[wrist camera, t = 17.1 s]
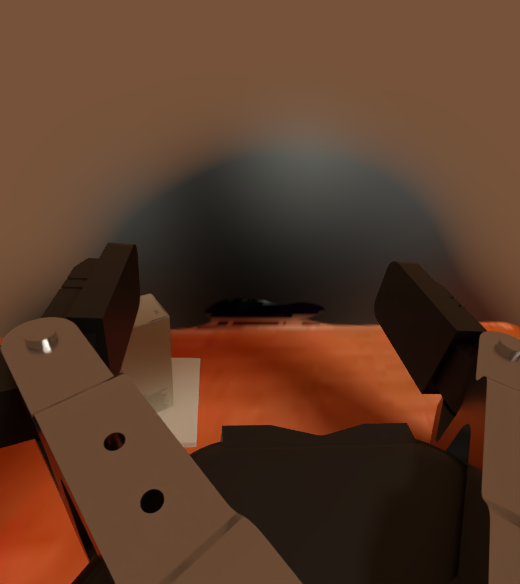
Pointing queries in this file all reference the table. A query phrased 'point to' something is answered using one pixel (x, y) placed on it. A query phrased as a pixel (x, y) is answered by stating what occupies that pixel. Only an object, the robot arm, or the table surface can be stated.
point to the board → (184, 401)
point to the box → (151, 354)
